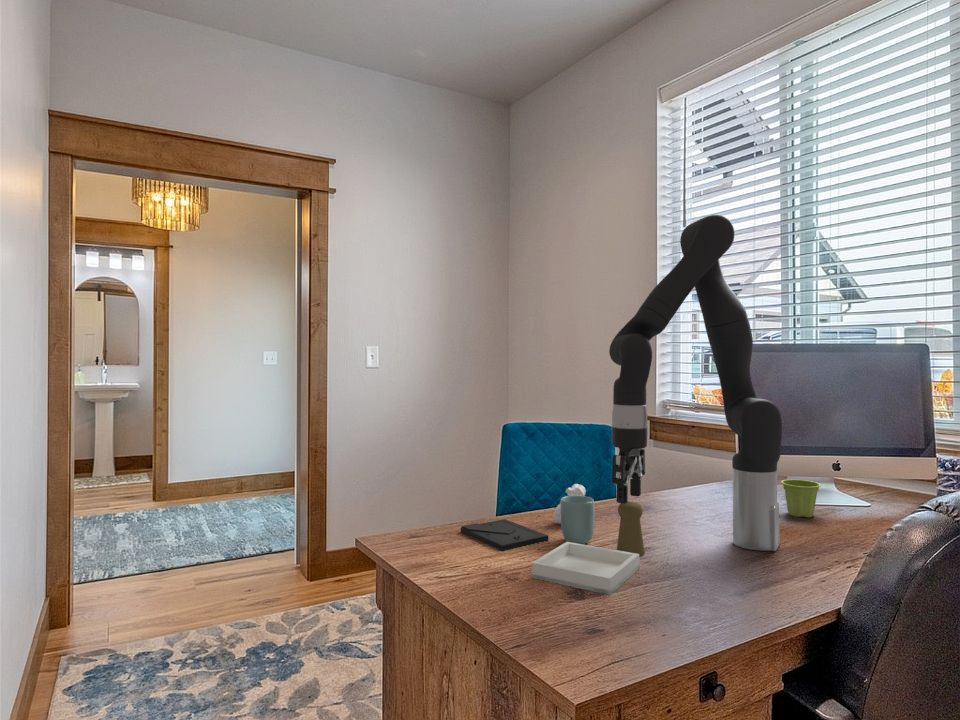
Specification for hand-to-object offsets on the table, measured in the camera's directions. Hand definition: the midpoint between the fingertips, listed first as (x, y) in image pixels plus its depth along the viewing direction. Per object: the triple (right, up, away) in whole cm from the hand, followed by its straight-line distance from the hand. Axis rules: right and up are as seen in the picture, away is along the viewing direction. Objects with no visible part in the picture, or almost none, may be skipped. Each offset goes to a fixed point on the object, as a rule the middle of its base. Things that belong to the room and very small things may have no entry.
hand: (628, 499), depth 132 cm
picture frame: (-27, -13, +13) cm, 33 cm away
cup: (-10, -12, +8) cm, 18 cm away
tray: (-11, -12, -13) cm, 21 cm away
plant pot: (+54, -12, +31) cm, 63 cm away
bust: (-8, -12, +25) cm, 29 cm away
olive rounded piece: (0, -12, 0) cm, 12 cm away
